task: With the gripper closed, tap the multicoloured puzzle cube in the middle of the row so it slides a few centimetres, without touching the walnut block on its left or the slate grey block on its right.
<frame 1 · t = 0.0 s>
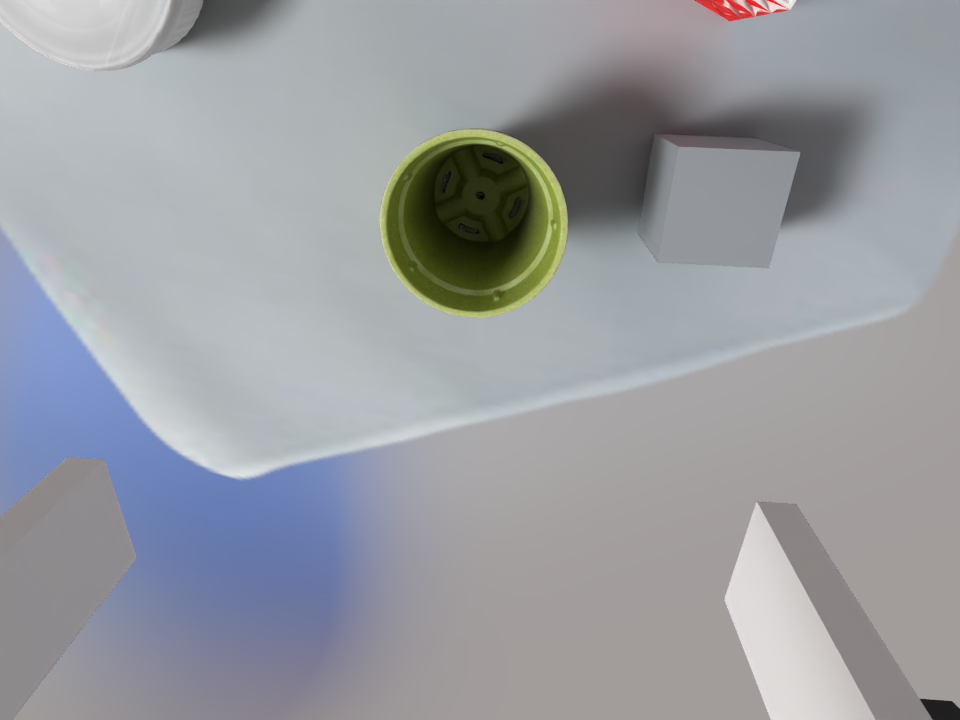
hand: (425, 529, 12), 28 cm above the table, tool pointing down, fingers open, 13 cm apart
slate grey block: (694, 187, 35), on the table
plant pot: (482, 194, 36), on the table
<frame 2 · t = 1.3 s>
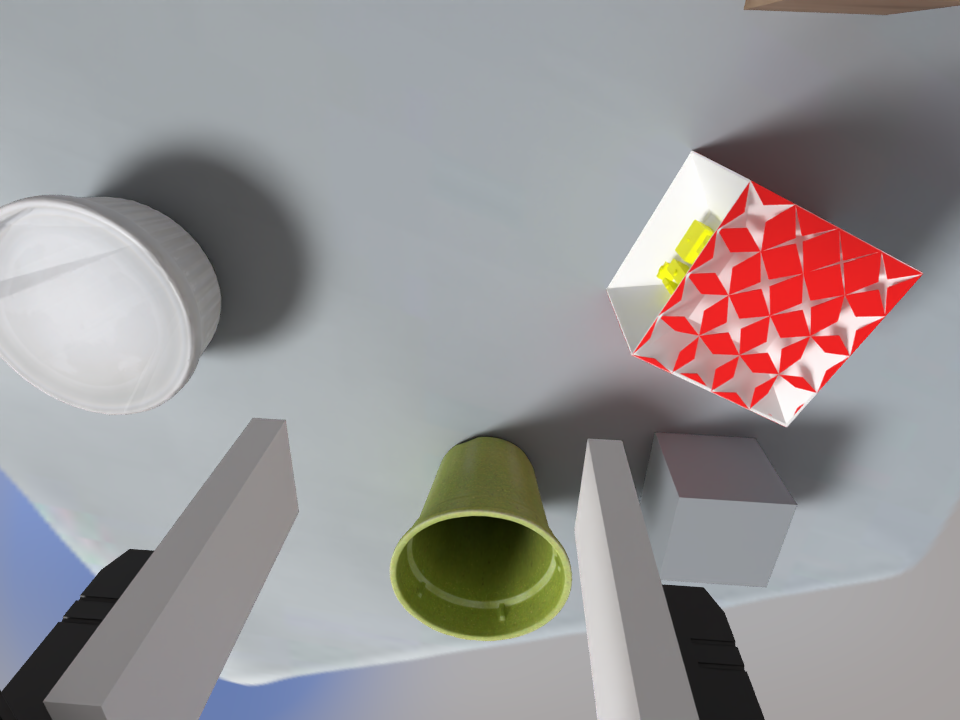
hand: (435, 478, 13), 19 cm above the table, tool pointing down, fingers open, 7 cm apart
puzzle cube: (709, 256, 30), on the table
slate grey block: (694, 473, 36), on the table
plant pot: (488, 472, 37), on the table
ramekin: (144, 279, 33), on the table
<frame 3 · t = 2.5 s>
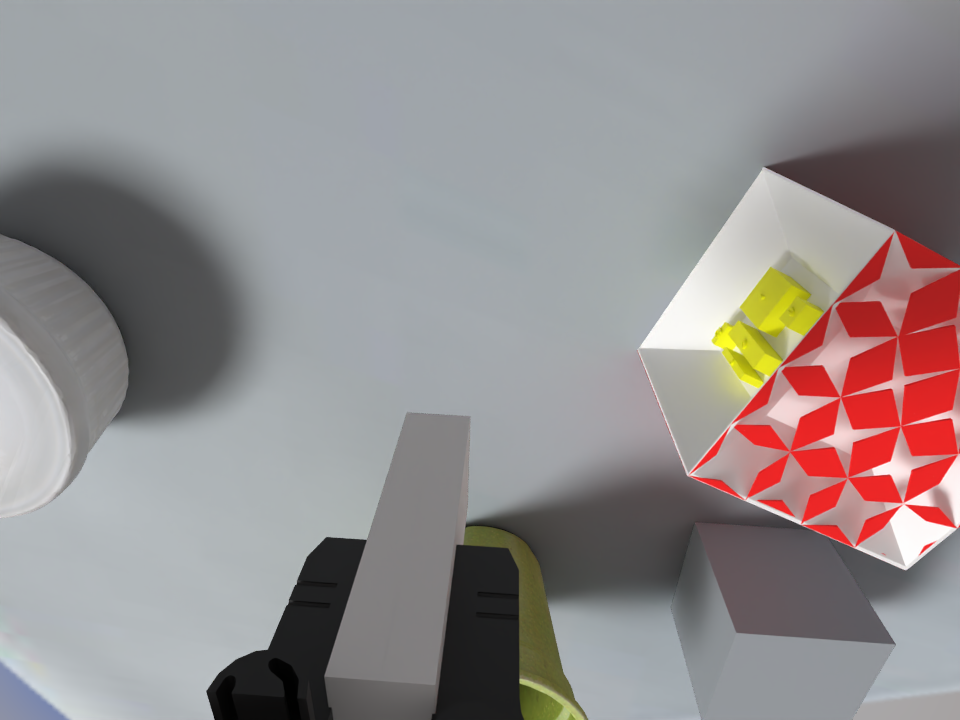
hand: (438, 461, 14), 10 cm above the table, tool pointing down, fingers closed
puzzle cube: (778, 307, 22), on the table
slate grey block: (742, 569, 29), on the table
plant pot: (481, 564, 30), on the table
ramekin: (29, 332, 25), on the table
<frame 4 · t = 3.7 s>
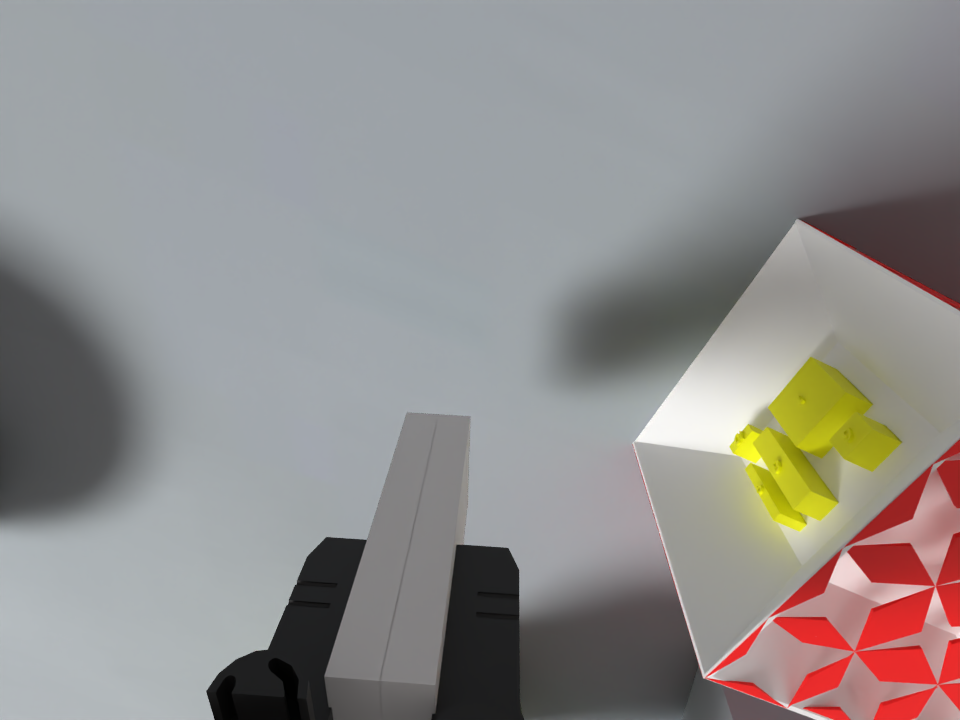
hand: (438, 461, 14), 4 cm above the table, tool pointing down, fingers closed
puzzle cube: (813, 392, 17), on the table
slate grey block: (765, 691, 24), on the table
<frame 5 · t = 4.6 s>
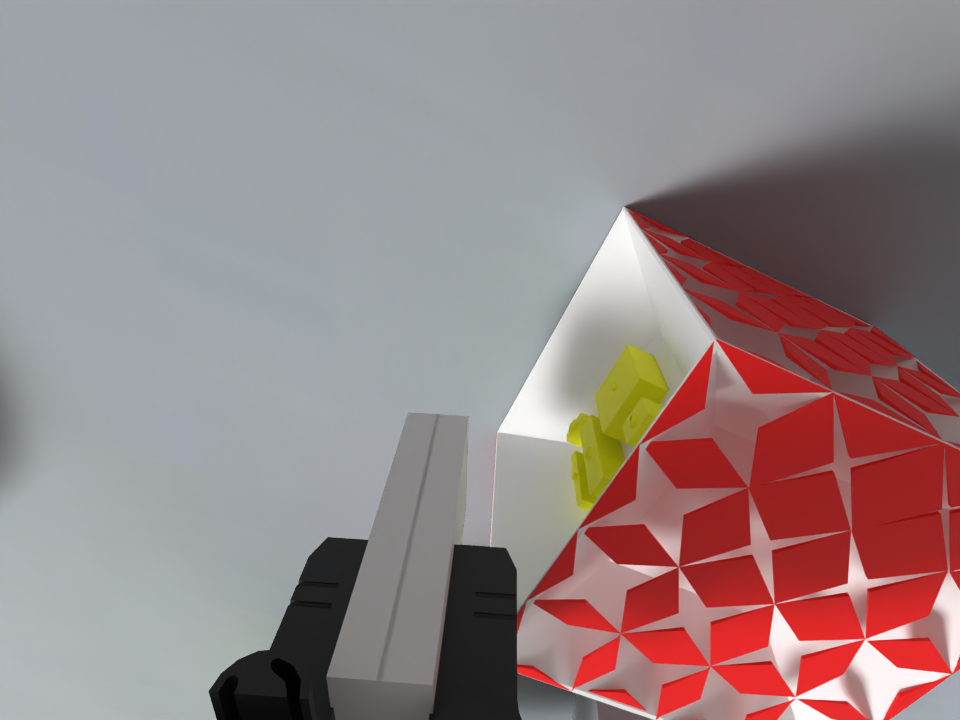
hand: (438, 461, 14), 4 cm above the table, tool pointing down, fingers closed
puzzle cube: (669, 380, 17), on the table, touching gripper
slate grey block: (652, 677, 24), on the table
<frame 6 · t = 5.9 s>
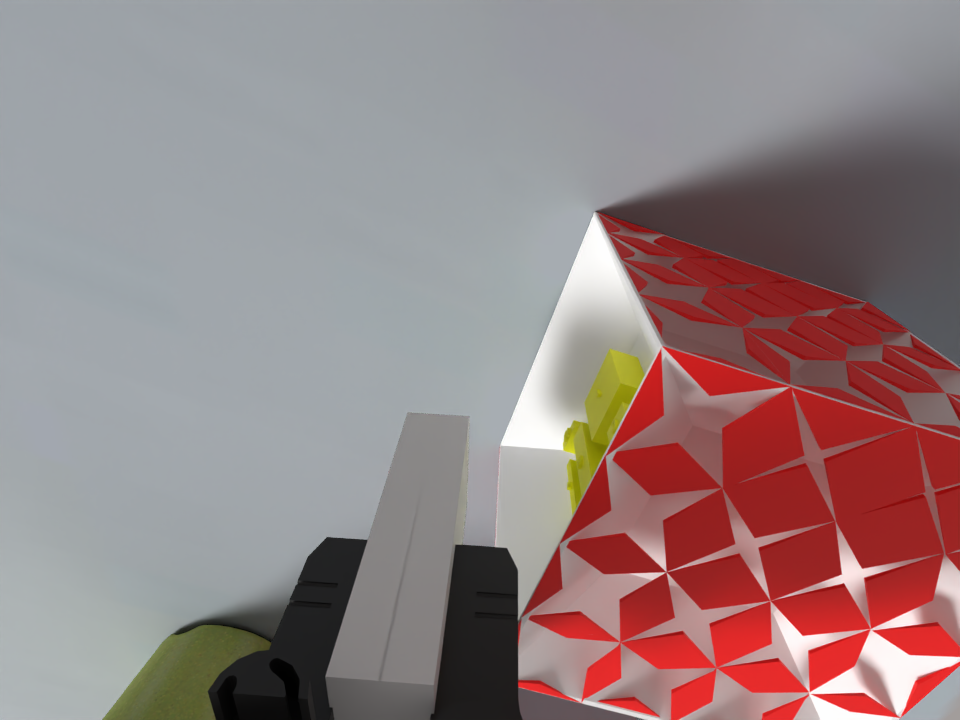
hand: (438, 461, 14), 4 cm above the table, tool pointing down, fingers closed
puzzle cube: (665, 377, 17), on the table, touching gripper
slate grey block: (537, 675, 24), on the table
plant pot: (235, 664, 25), on the table
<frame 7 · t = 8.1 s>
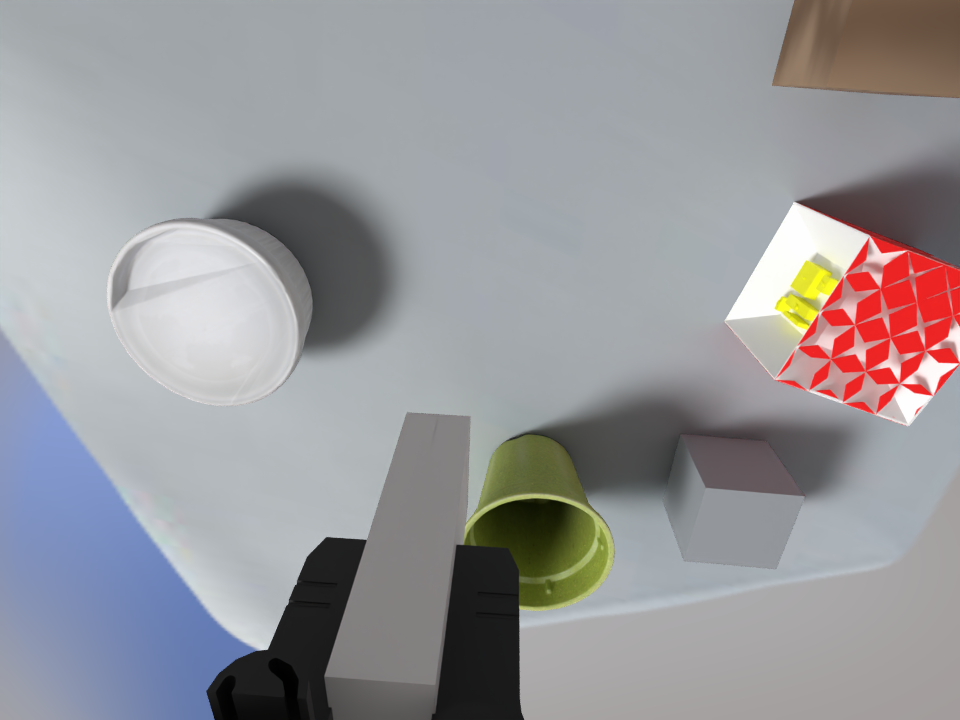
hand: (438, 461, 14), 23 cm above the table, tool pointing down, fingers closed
puzzle cube: (812, 284, 35), on the table
slate grey block: (712, 471, 42), on the table
plant pot: (531, 466, 42), on the table
walnut block: (848, 24, 29), on the table
ramekin: (243, 289, 38), on the table
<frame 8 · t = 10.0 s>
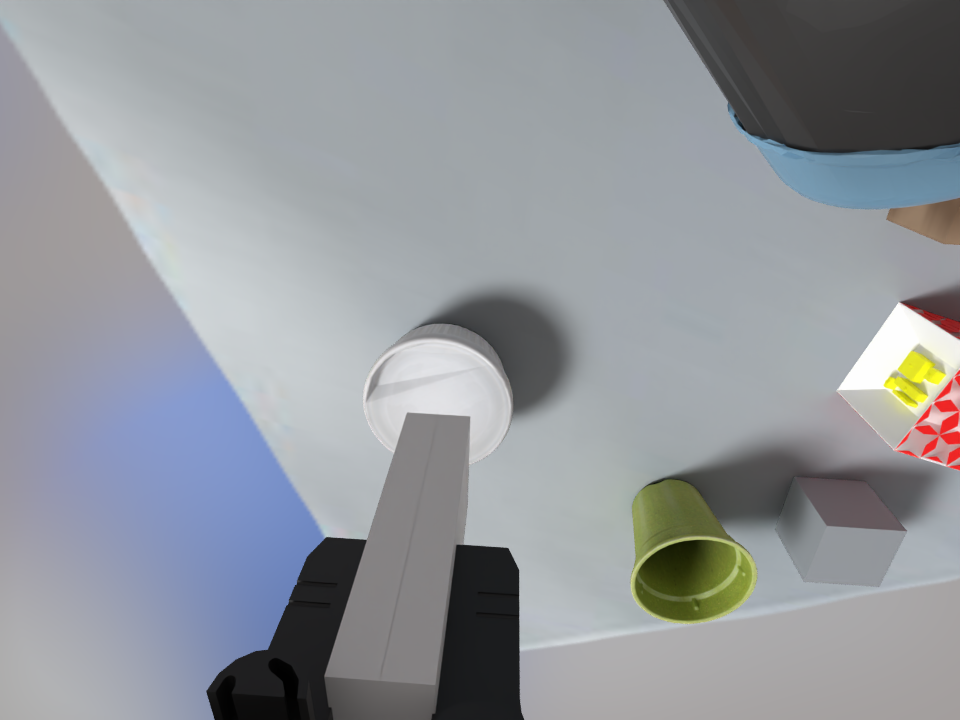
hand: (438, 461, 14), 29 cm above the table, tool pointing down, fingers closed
puzzle cube: (910, 361, 44), on the table
slate grey block: (818, 505, 51), on the table
plant pot: (666, 503, 52), on the table
walnut block: (949, 175, 38), on the table
ramekin: (445, 372, 47), on the table
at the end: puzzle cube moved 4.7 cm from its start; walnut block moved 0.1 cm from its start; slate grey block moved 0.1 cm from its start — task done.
